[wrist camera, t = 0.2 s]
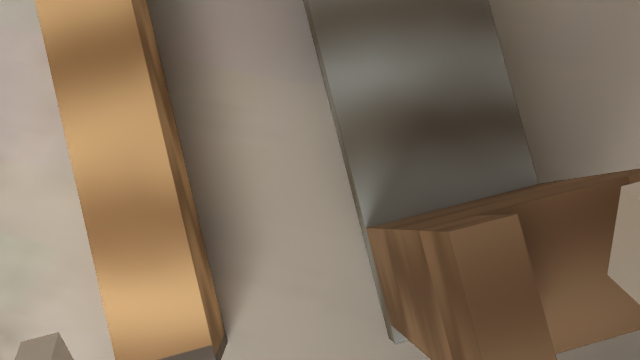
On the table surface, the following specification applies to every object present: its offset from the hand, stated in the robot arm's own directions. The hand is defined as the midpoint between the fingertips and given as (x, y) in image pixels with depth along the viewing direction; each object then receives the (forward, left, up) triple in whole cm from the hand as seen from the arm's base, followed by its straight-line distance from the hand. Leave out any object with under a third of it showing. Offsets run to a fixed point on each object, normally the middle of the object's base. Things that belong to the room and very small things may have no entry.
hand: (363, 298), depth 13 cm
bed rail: (+11, +7, -16) cm, 21 cm away
